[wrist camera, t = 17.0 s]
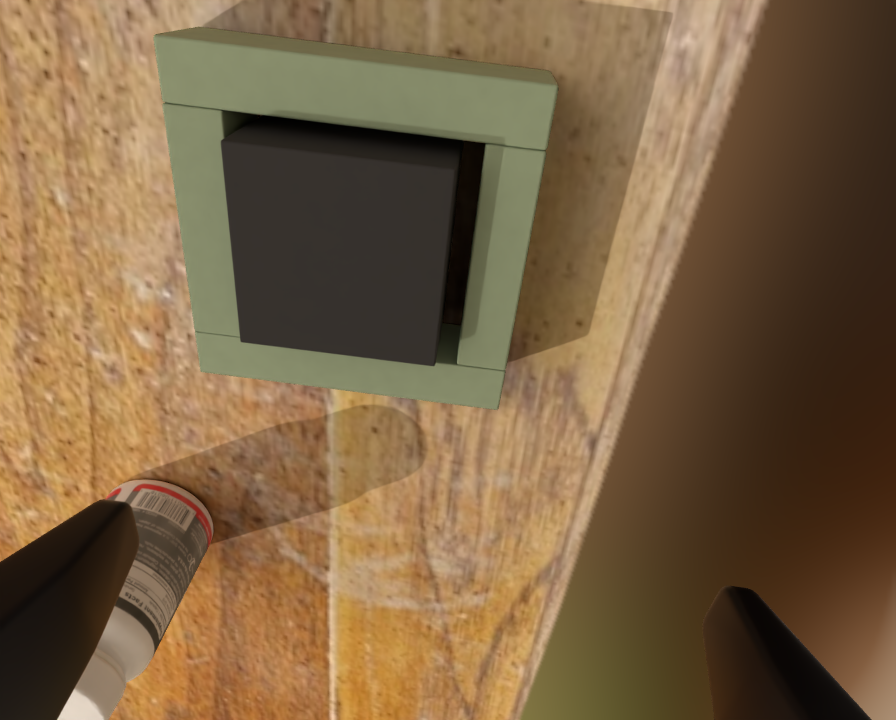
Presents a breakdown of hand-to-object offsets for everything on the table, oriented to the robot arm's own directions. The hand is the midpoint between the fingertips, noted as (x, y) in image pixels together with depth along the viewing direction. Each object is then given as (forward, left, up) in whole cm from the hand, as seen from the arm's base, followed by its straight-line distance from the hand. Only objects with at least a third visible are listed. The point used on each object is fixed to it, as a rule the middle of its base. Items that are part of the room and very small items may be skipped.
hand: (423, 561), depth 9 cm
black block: (+2, -2, -12) cm, 12 cm away
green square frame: (+2, -2, -12) cm, 12 cm away
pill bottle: (+17, +6, -12) cm, 22 cm away
